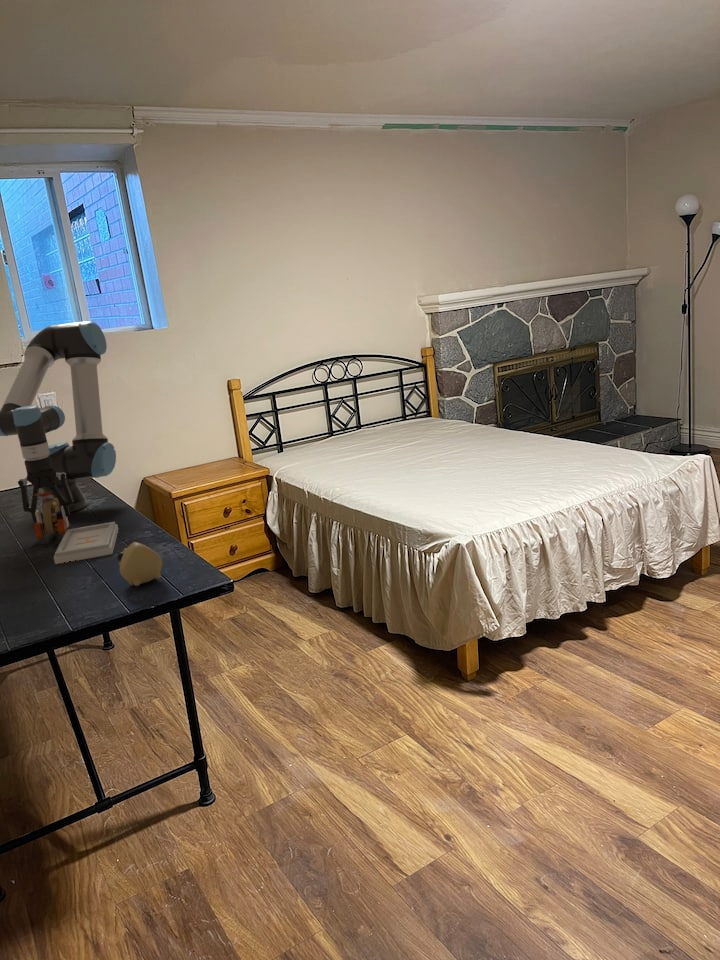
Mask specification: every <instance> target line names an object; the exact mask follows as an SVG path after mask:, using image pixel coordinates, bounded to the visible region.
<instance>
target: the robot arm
mask: <svg viewBox="0 0 720 960" xmlns="http://www.w3.org/2000/svg"><path fill="white" fill-rule="evenodd" d="M107 348H108V347H107V340H106V337H105V333H104V332H103V330H102V328H101V327H100V326H99V325H98V324H97V323H96V322H94V321H91V320H89V321H76V322H70V323H69V322H68V323H61V324H51V325H49V326H47V327H45V328H43V329H42V330H40V331H39V332H38V333H37V334H36V335H35V336H34V337H33V338H32V339H31V341H29V343H28V345H27V346H26V348H25V350H24V354H23V355H24V361H23V362H22V365H21V366H20V368H19V371H18V373H17V374H16V377H15V379H14V381H13V383H12V385H11V388H10V390H9V392H8V394H7V396H6V398H5V399H4V402H3V405H2V407H1V408H0V437H8V436H16V435H17V437H18V441H19V445H20V450H21V455H22V458H23V459H24V462H23V463H24V466H25V470H26V477H24V478H21V479H19V480H18V481H17V484H18V486H19V488H20V492H21V500H22V507H23V512H25V513H27V512H28V513H30V514H31V517H32V521H33V523H42V520H43V519H42V516H41V514H42V515H43V511H42V507H43V503H44V502H46V501H43V500H41V499H40V500H41V501H40V509H37V506H38V498H39V496H35V495H34V494H39V492H40V491H39V490H40V489H41V491H42V492H41V493H44V492H46V491H49V492H51V494H52V495H56V497H57V498H58V501H59V507H60V510H59V512H57V514H56V516H58V515H61V516H62V519H64V520H65V523H66V529H67V528H69V527H70V523H69V520H68V519H69V518H68V517H70V515H71V513H72V512H76V511H78V510H82V509H83V508H85V507H86V506H87V505H88V502H87V498H86V496H85V495H84V492H82V491H81V489H80V487H79V485H78V482H77V480H83V479H93V478H94V479H96V478H97V479H99V478H103V477H107V476H109V475H111V474H112V473H113V470H114V469H115V467H116V462H117V461H116V460H117V452H116V449H115V446H114V444H113V443H111V442H110V441H109V440H108V439H109V438H108V437H107V436H106V435H105V434H104V433H103V432H104V431H103V423H102V421H103V420H102V412H101V400H100V399H101V397H100V388H99V387H100V386H99V376H98V366H99V364H100V363H101V362H102V358H101V356H102V355H104V354H106V352H107ZM60 359H61V360H62V359H64V361H65V363H66V364H67V365H69V366H70V375H71V376H70V377H71V387H72V401H73V410H74V411H73V412H74V422H75V433H76V435H75V436H74V437H73V438H72V440H71V442H72V445H70V444H69V442H68V441H63V442H59V443H55V444H51V445H49V444H48V443H49V442H48V440H47V435H46V434H47V433H50V432H53V431H56V430H58V429H59V428H61V427H62V426H63V425H64V423H65V421H66V416H65V413H64V411H63V410H62V409H61V408H60V407H59V406H56V405H53V404H52V405H46V406H44V407H39V406H38V405H32V404H33V402H34V400H35V398H36V396H37V393H38V391H39V389H40V387H41V384H42V382H43V380H44V378H45V375H46V373H47V371H48V370H49V368H51V367H53V365H54V363H55V362H56V361H58V360H60ZM28 482H29V483H30V484H31V485H32V486H33V488H32V489H33V490H32V498H31V502H30V503H31V504H30V503H29V495H28V487H27V485H28ZM40 512H41V513H40Z"/></svg>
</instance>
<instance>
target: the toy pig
mask: <svg viewBox="0 0 720 960" xmlns="http://www.w3.org/2000/svg"><path fill="white" fill-rule="evenodd" d="M117 560H118V564H119V573H120V575H121V576H122V578H123V579H124V580H125V581H127V582H128V583H129V586H136V587H139V586H140V585H141V584H142V585H143V584H146V583H149V582H151V581H153V580H154V579H157V580H158V579H160V578H161V577H162V574H161V571H162V568H163V559H162V557H161V555H159V554H158V553H157V552H156V551H155V550H153V549H152V548H150V547H148V546H147V545H145V544H143V543H140V542H137V541H133V542H132V543H130V544H129V545H128V547H125V548H123V551H121V552H119V553H118V554H117Z"/></svg>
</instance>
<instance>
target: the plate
mask: <svg viewBox="0 0 720 960" xmlns="http://www.w3.org/2000/svg"><path fill="white" fill-rule="evenodd" d="M118 530H119V527H118V524H116V521H110V522H105V523H104V522H103V523H99V524H92V525H88V526H87V525H86V526H80V527H75V528H69V529H66V533H65V534H64V535H63V537H62V539H61V540H60V542H59V544H58V546H57V548H56V550H55V552H54V556H53V562H54V564H55V565H58V564H59V563H60V564H65V563H70V562H69V561H71V562H76V561H81V560H86V559H92V558H97V557H98V558H99V557H105V556H108V555H112V554H114V553H113V552H114V548H115V545H116V542H117V539H118V538H117V537H118V535H117V534H119V531H118ZM75 560H76V561H75ZM64 562H65V563H64Z"/></svg>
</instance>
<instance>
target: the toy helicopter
mask: <svg viewBox="0 0 720 960" xmlns="http://www.w3.org/2000/svg"><path fill="white" fill-rule="evenodd" d="M34 495H35V496H38V497H39V496H40V497H41V499H40V500H43V501H46V502H44V503H43V507H42V511H43V514H42V519H41V520H42V523H37V522H35V524H34V533H35V536H36V539H37V540H40V539H44V538H45V535H50V534H54V533H56V531H57V532H58V534H59V536H64V535H65V533H66V531H67V528H66V523H65V520H64V519H63V518H59V519H58V517H57V516H58V515H56V514H57V512H59V510H60V507H59V501H58V498H57V497H56V495H52V494H51V492H49V491H46V492H44V493H42V492H40V493H38V494H34Z"/></svg>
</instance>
